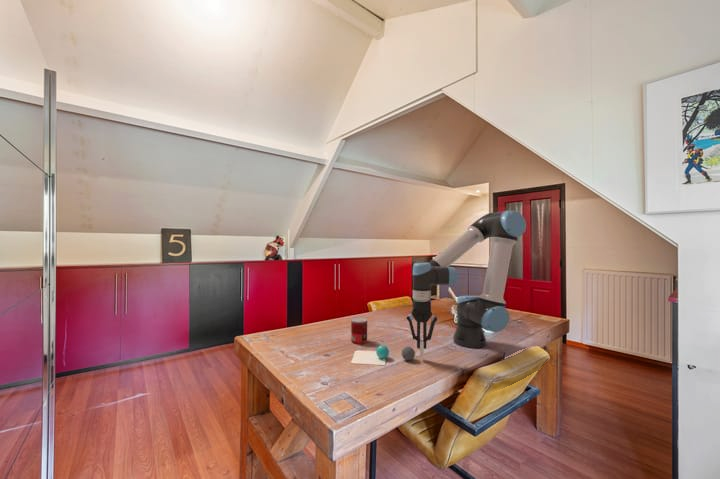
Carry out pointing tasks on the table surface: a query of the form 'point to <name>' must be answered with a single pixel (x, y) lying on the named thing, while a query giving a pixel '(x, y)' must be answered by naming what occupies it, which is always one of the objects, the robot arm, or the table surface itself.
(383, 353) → the object ball
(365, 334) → the canned food
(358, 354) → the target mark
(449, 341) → the table surface
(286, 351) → the table surface
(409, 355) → the gray ball
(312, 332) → the table surface
